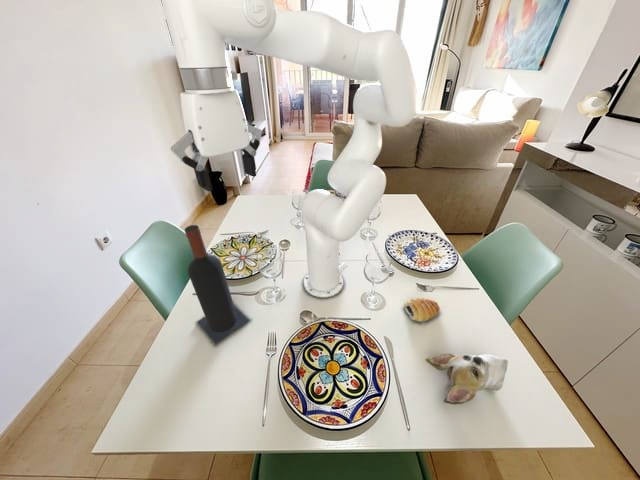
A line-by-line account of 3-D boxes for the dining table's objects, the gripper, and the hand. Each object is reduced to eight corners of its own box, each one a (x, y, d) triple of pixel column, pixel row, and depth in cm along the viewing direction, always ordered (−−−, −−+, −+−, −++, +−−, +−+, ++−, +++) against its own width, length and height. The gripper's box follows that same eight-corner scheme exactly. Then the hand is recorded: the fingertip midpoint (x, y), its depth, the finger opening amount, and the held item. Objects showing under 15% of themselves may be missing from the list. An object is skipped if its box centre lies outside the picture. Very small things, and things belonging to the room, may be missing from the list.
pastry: (429, 300, 80) (432, 291, 77) (444, 317, 74) (447, 308, 72) (401, 306, 78) (403, 297, 76) (413, 325, 72) (416, 316, 70)
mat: (229, 302, 80) (229, 301, 80) (248, 321, 75) (248, 319, 74) (197, 322, 74) (197, 321, 74) (215, 344, 69) (215, 343, 68)
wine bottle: (208, 335, 70) (169, 241, 53) (209, 313, 76) (175, 222, 59) (237, 327, 72) (209, 234, 55) (236, 307, 78) (210, 217, 61)
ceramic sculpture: (528, 381, 51) (450, 390, 50) (514, 403, 55) (442, 412, 55) (494, 333, 59) (427, 341, 59) (484, 356, 64) (422, 364, 64)
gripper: (241, 77, 51) (255, 166, 60) (142, 84, 40) (178, 190, 50) (265, 78, 46) (276, 174, 56) (161, 87, 36) (196, 202, 46)
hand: (230, 181), depth 53 cm, fingers open, 9 cm apart
